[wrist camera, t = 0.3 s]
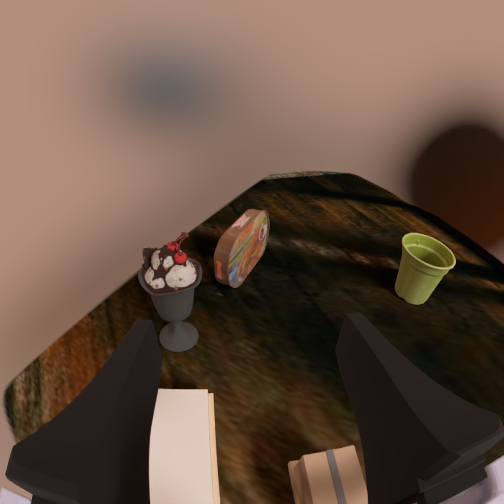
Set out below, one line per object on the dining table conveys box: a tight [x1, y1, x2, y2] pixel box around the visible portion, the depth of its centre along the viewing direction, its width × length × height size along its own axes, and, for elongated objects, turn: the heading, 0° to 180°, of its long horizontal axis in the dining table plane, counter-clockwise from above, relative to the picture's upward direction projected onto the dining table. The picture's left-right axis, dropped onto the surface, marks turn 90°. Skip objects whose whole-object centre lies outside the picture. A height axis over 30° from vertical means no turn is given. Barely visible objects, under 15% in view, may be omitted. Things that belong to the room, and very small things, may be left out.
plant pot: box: [395, 233, 456, 305], centre depth 43 cm, size 9×9×9 cm
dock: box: [149, 389, 220, 504], centre depth 21 cm, size 8×19×2 cm, turn 6°
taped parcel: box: [288, 445, 368, 504], centre depth 19 cm, size 8×5×6 cm, turn 6°
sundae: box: [138, 232, 202, 352], centre depth 32 cm, size 7×7×15 cm
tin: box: [214, 209, 269, 288], centre depth 46 cm, size 15×3×8 cm, turn 156°
